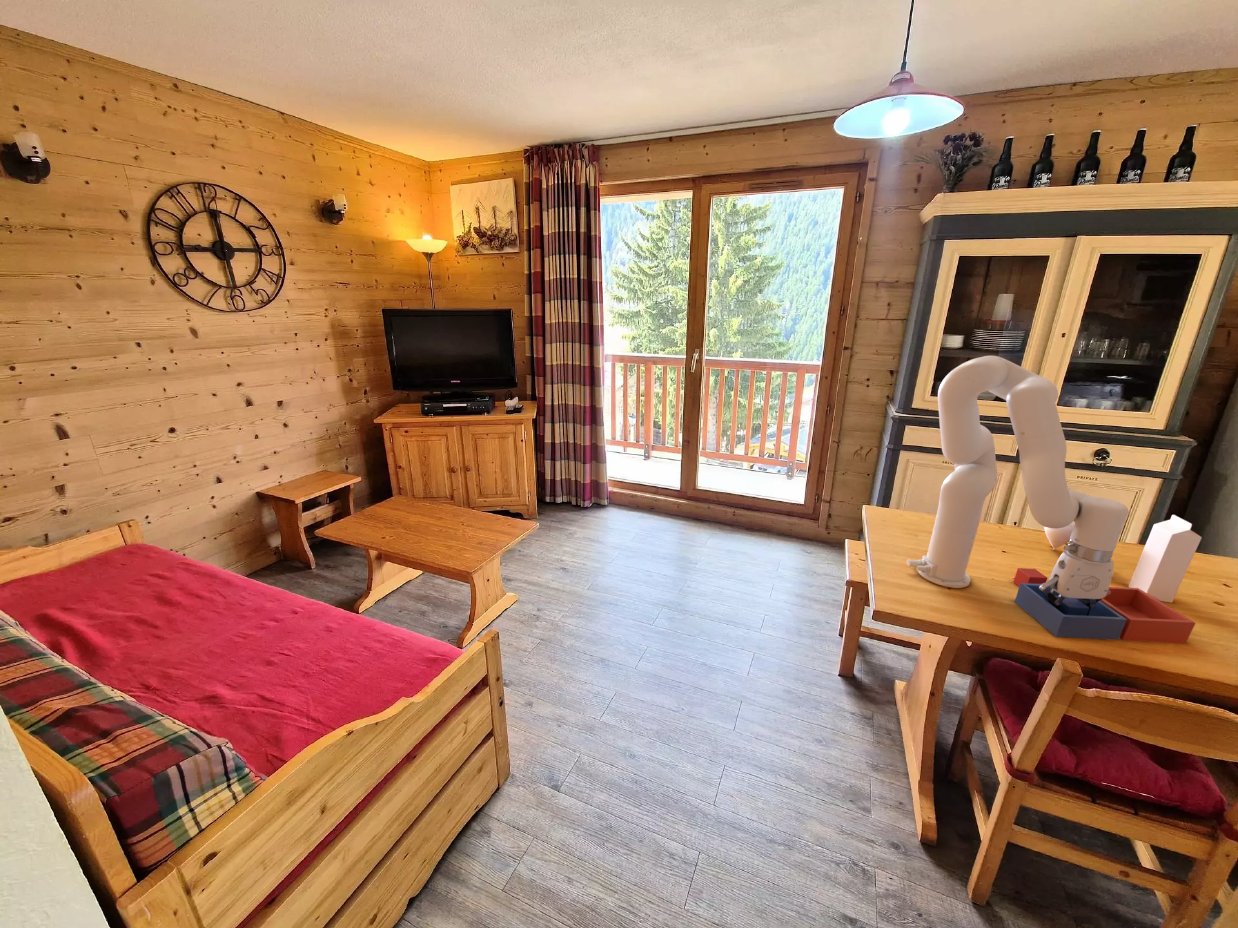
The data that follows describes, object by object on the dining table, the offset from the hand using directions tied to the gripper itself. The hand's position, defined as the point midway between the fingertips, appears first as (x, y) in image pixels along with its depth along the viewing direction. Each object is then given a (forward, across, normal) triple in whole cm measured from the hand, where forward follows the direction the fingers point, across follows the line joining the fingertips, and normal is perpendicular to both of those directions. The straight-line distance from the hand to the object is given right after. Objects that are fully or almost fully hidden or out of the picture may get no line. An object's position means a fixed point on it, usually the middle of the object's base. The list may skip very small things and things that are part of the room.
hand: (1065, 616), depth 117 cm
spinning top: (+1, +24, +36) cm, 44 cm away
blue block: (0, 0, 0) cm, 0 cm away
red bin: (+1, +14, 0) cm, 15 cm away
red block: (+1, +2, +14) cm, 14 cm away
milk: (+1, +32, +13) cm, 34 cm away
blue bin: (+1, 0, 0) cm, 1 cm away
